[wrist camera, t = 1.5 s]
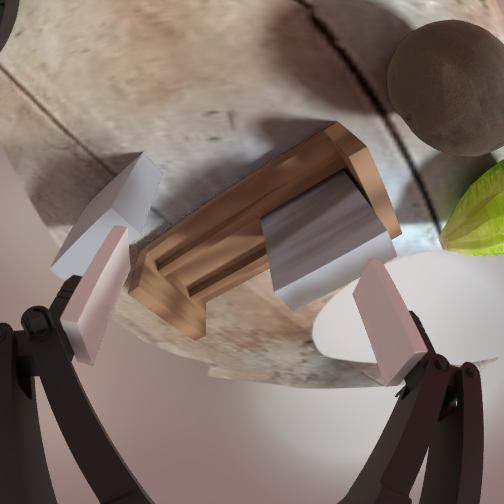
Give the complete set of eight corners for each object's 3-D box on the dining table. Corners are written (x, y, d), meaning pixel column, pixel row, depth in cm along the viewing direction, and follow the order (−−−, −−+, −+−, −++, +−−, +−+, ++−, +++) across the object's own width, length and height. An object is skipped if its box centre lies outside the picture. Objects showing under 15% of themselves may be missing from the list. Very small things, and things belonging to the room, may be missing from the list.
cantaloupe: (452, 128, 31) (531, 184, 20) (361, 124, 31) (435, 185, 19) (459, 29, 22) (552, 53, 10) (360, 7, 22) (450, 1, 10)
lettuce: (417, 180, 36) (466, 233, 27) (509, 136, 31) (561, 174, 22) (427, 247, 44) (462, 300, 35) (508, 202, 39) (548, 243, 30)
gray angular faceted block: (86, 205, 34) (49, 269, 25) (143, 151, 31) (111, 207, 22) (105, 222, 36) (74, 289, 27) (163, 172, 33) (141, 235, 24)
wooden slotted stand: (139, 250, 40) (117, 334, 29) (337, 121, 31) (398, 176, 20) (196, 297, 47) (193, 378, 36) (375, 197, 37) (426, 269, 27)
